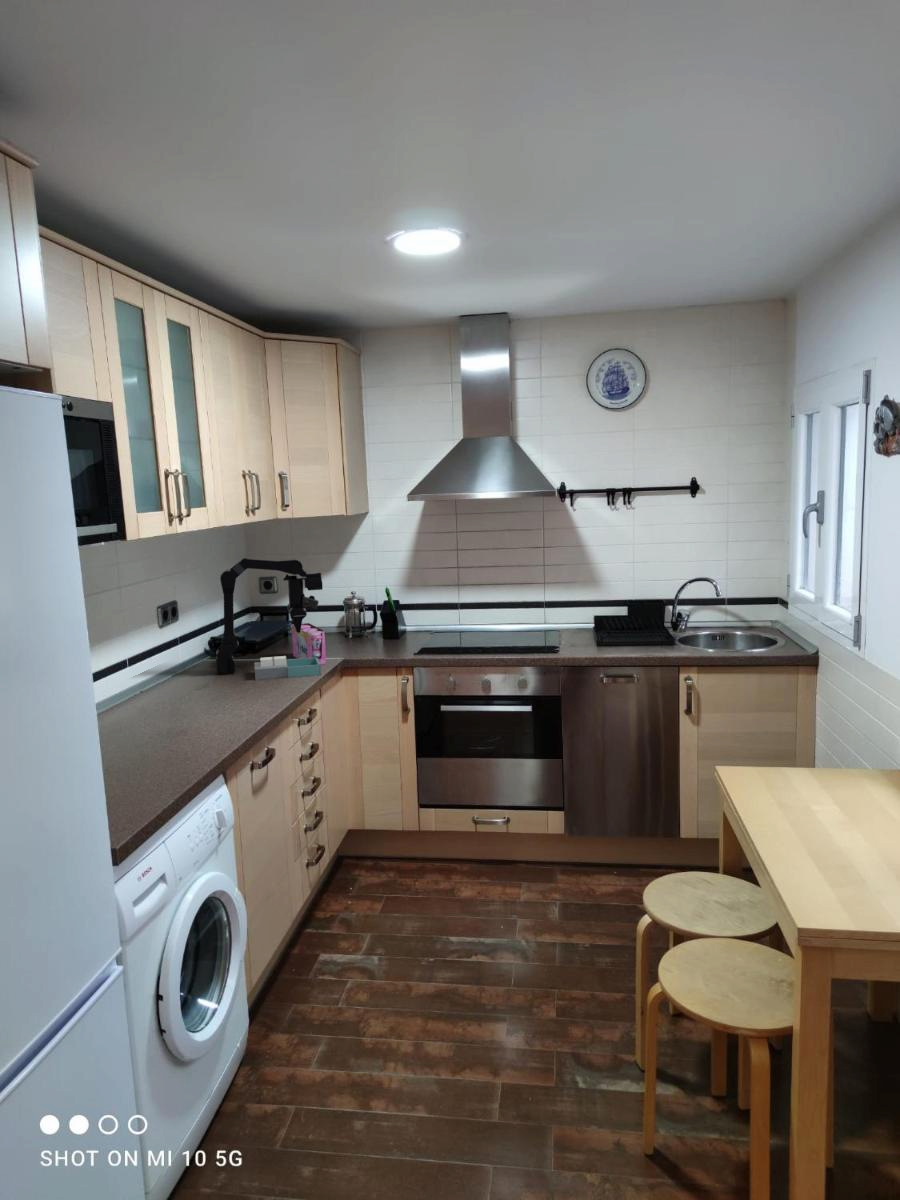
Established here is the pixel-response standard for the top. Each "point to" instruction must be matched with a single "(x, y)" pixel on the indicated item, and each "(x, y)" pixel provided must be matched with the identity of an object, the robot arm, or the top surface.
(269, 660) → the tile
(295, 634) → the gum box
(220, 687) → the top surface
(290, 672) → the tray
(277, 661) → the tile
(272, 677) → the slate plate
